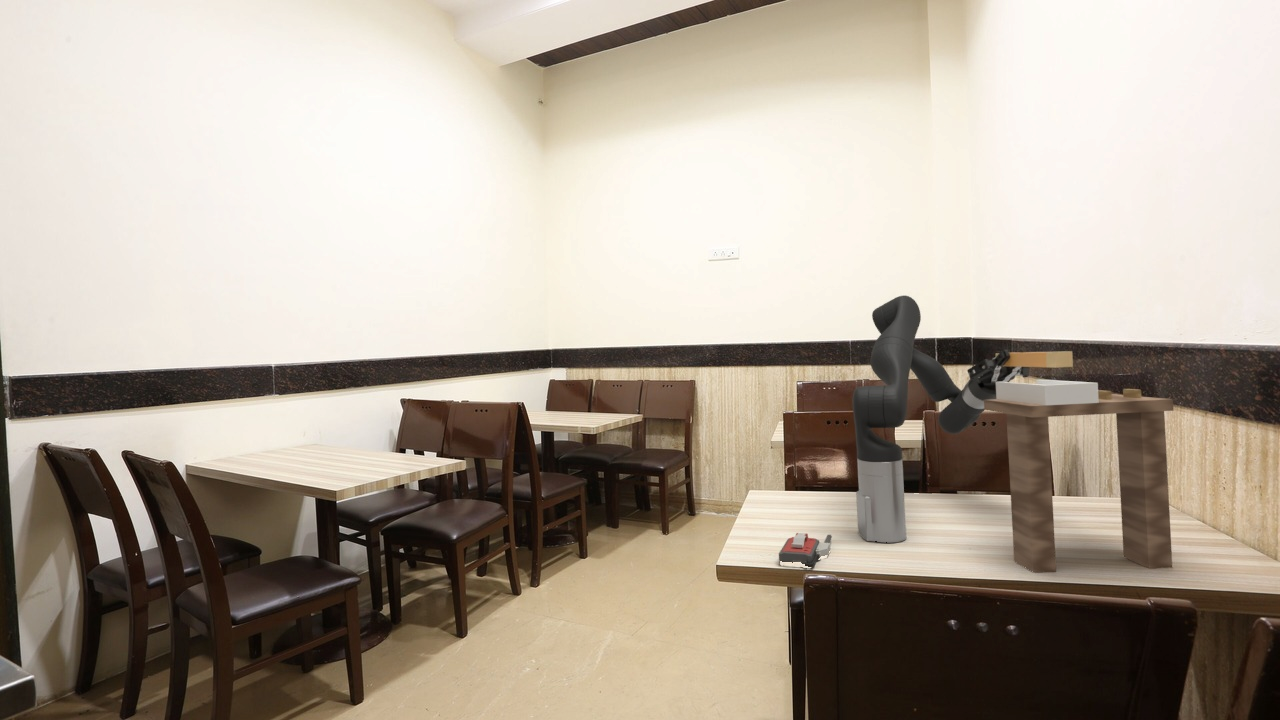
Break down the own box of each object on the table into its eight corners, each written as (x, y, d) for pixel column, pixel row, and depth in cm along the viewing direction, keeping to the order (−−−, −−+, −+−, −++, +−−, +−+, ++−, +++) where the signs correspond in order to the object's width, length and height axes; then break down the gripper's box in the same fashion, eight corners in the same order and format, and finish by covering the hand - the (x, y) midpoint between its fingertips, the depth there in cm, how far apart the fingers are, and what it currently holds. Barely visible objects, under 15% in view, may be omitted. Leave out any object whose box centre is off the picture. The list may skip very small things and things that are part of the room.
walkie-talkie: (823, 574, 115) (835, 542, 133) (821, 550, 115) (834, 522, 133) (776, 570, 118) (794, 540, 137) (775, 547, 118) (793, 520, 137)
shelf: (1040, 576, 107) (1030, 397, 107) (991, 548, 123) (983, 392, 123) (1181, 571, 106) (1172, 390, 106) (1114, 543, 122) (1106, 386, 122)
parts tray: (1045, 405, 107) (1044, 385, 107) (996, 399, 123) (995, 381, 123) (1098, 402, 106) (1097, 382, 106) (1042, 396, 122) (1041, 379, 122)
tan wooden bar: (1055, 367, 118) (1055, 352, 118) (996, 366, 140) (995, 353, 140) (1073, 366, 118) (1072, 351, 118) (1010, 365, 140) (1009, 352, 140)
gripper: (950, 376, 152) (978, 340, 137) (1008, 373, 151) (1043, 336, 136) (958, 403, 148) (988, 369, 133) (1018, 400, 147) (1055, 365, 133)
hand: (1015, 352), depth 135 cm, fingers closed on tan wooden bar, 3 cm apart
